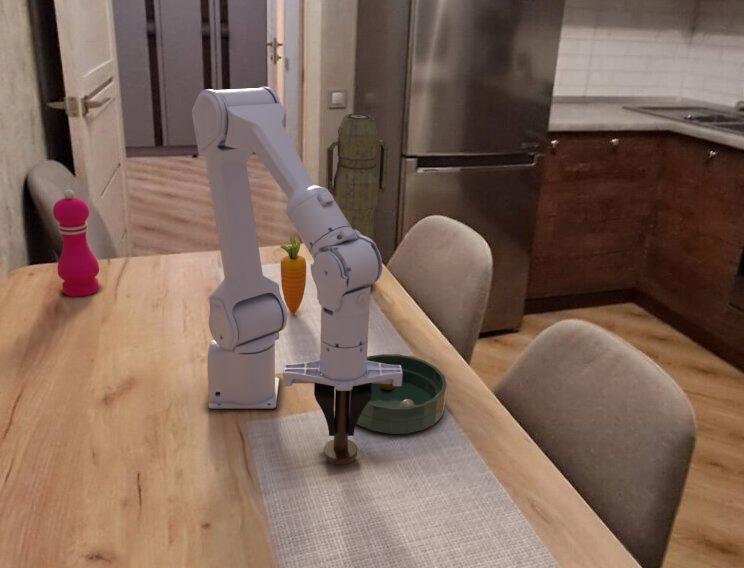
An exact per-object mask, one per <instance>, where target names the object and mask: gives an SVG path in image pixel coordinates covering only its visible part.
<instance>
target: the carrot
mask: <svg viewBox="0 0 744 568" xmlns="http://www.w3.org/2000/svg"><path fill="white" fill-rule="evenodd" d="M289 241H290V245H288V246H287V245H284V244H281V245H280V249H282V250H284V251H285V252H286V253H287V254H288V255H286V256H283V257H282V258H281V259H280V281H281V289H282V296H283V301H284V303H285V306H286V308H287V309H288V310H289V312H290V313H291V314H292V315H295V313H297V311H298V310H299V308H300V306H301V304H302V301H303V298H304V295H305V290H306V289H305V288H306V282H307V262H306V258H305V257H304V256H301V255H299V252H300V249H301V245H302V242H301V241H300V240H297V242H296V238H295V236H294V235H290V236H289Z"/></svg>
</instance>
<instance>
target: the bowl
mask: <svg viewBox="0 0 744 568" xmlns="http://www.w3.org/2000/svg"><path fill="white" fill-rule="evenodd" d="M367 361H373V362H378V363H383V364H390V365H401V368H402V373H403V374H402V386H394V387H393V388H392V389H391V390H388V391H387V390H384V389H383V388H382V387H381V385H380V383H372V387H371V388H372V396H371V399H370V401H369V402H368V403H367V405H366V406H365V408H364V409H363V411H362V413H361V414H360V416H359V419H358V421H357V424H356V425H358V426H361V427H362V428H365V429H367V430H371V431H373V432H378V433H379V432H380V433H384V434H393V435H394V434H411V433H415V432H420V431H422V430H425V429H427V428H430V427H431V426H434V425H436V423H437V422H438V421H440V419H441V418H442V417H443V415H444V412H445V408H446V398H447V389H448V382H447V380H446V376H445V375H444V373H443V372H442V371H441V370H440V369H439V368H438V367H437V366H435V365H434V364H432V363H430V362H429V361H426V360H423V359H421V358H418V357H415V356H411V355H404V354H397V353H380V354H373V355H367ZM405 399H410V400H412V401H413V402H414V404H415V405H414V406H408V407H400V404H401V402H402V401H403V400H405ZM349 406H350V402H349Z"/></svg>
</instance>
